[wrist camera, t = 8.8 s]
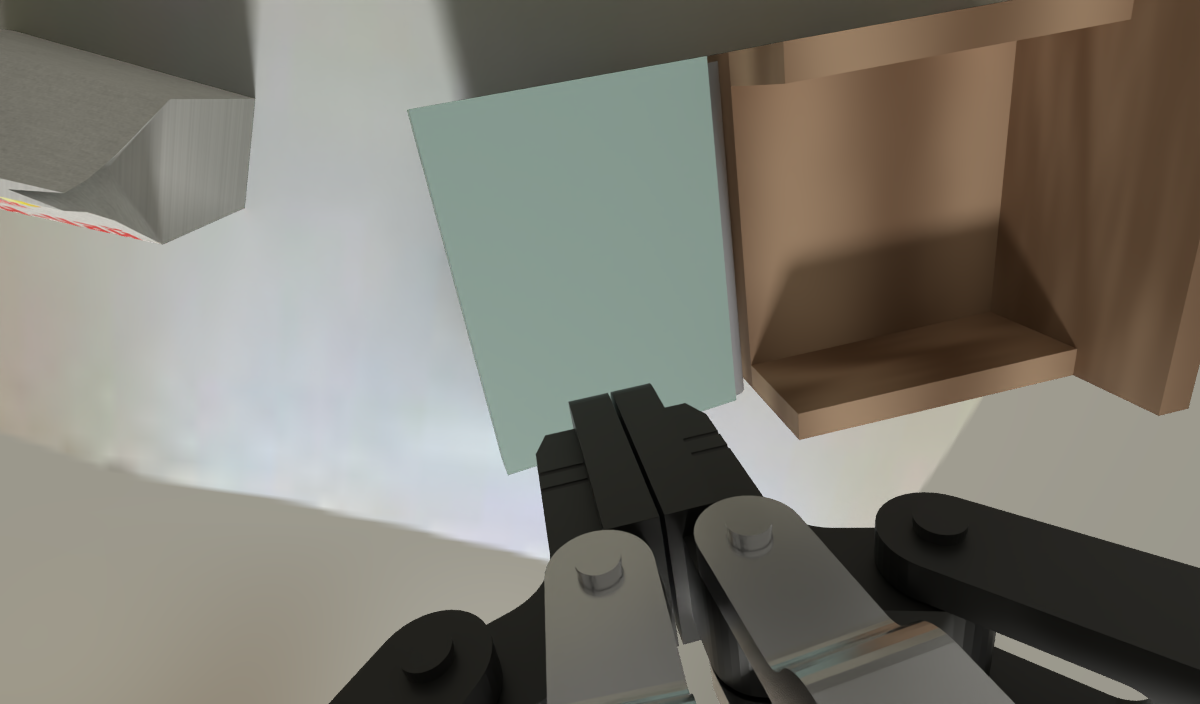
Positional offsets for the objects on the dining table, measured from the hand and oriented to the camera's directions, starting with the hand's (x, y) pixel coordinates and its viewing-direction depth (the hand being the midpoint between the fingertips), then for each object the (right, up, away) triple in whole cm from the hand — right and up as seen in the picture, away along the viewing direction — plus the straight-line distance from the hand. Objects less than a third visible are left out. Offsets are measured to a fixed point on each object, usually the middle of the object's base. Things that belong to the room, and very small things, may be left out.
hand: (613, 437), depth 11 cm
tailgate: (+4, +5, +10) cm, 12 cm away
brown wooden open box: (+9, +8, +14) cm, 18 cm away
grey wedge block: (-15, +9, +9) cm, 20 cm away
